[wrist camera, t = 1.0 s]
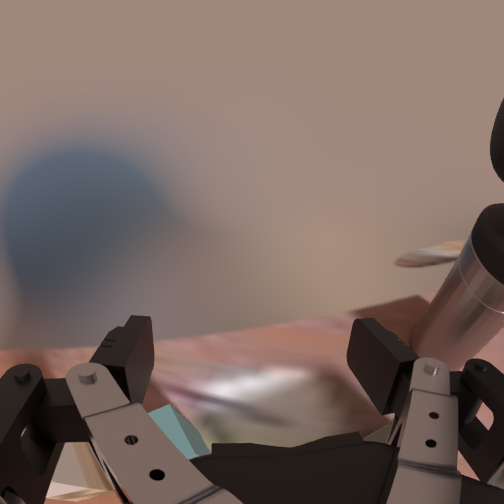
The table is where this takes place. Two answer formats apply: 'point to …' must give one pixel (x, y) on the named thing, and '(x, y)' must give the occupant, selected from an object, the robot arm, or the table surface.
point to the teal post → (180, 432)
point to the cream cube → (67, 473)
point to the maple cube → (88, 476)
